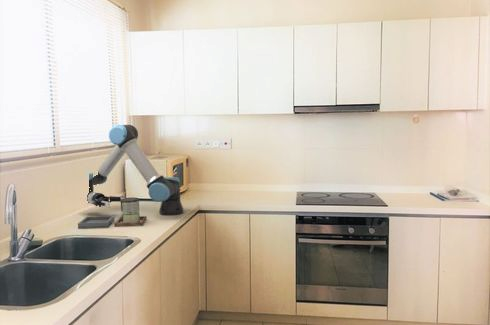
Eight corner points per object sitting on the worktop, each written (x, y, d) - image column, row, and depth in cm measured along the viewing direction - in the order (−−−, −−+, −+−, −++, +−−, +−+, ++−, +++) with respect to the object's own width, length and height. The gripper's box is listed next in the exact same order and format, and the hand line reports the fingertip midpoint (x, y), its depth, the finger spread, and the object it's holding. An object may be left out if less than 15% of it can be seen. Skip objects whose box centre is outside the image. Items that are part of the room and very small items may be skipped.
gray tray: (114, 220, 243) (114, 215, 243) (107, 227, 227) (107, 222, 227) (86, 221, 242) (86, 216, 242) (78, 228, 226) (77, 223, 226)
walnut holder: (146, 219, 246) (146, 216, 245) (142, 225, 230) (142, 222, 230) (120, 220, 244) (120, 217, 244) (114, 226, 229) (114, 223, 229)
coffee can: (118, 223, 237) (116, 199, 235) (133, 220, 245) (131, 196, 243) (128, 226, 230) (127, 201, 229) (143, 222, 238) (142, 198, 237)
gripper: (113, 201, 265) (135, 205, 252) (78, 208, 244) (100, 212, 232) (113, 190, 264) (135, 193, 252) (78, 195, 244) (100, 199, 231)
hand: (118, 202), depth 242 cm, fingers open, 13 cm apart
